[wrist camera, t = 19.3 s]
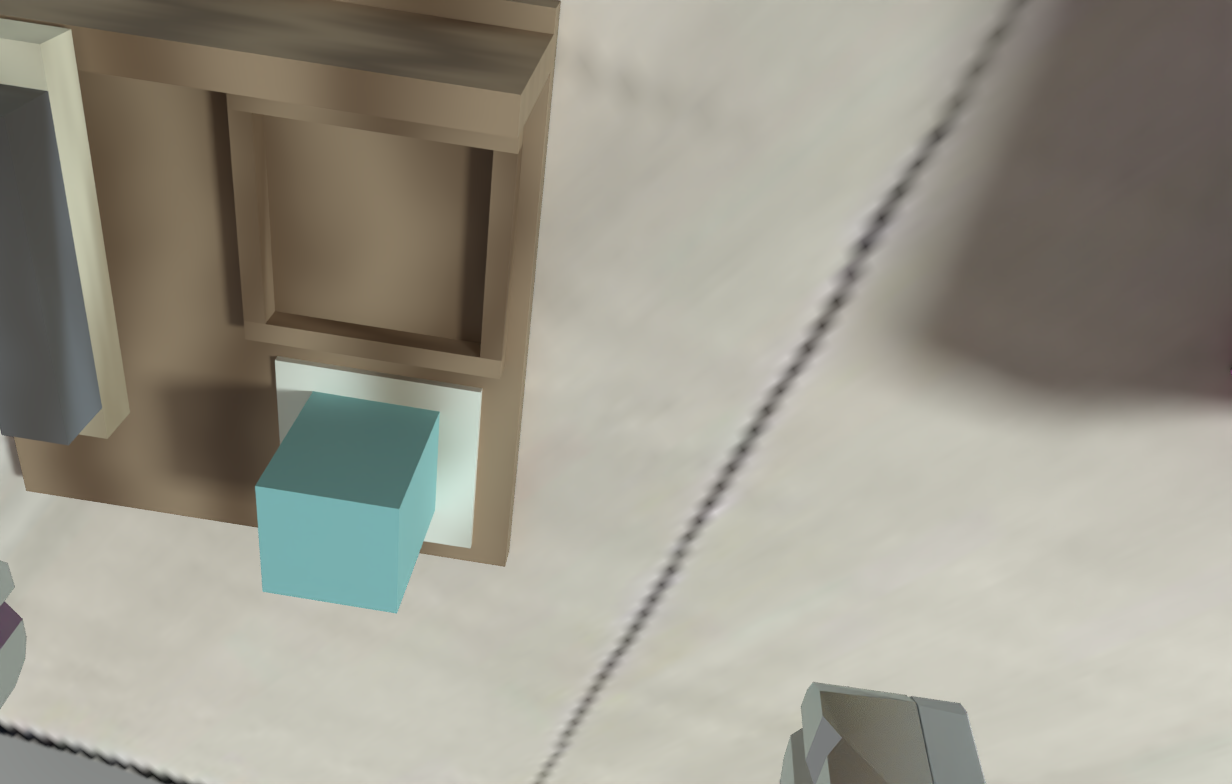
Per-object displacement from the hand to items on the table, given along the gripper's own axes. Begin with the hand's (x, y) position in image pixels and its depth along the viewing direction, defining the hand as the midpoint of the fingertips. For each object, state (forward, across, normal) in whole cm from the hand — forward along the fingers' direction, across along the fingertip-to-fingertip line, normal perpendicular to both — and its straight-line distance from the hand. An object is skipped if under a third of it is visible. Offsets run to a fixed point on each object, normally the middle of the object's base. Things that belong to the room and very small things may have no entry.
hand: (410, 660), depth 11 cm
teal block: (+26, +7, +18) cm, 33 cm away
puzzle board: (+28, +12, +11) cm, 32 cm away
